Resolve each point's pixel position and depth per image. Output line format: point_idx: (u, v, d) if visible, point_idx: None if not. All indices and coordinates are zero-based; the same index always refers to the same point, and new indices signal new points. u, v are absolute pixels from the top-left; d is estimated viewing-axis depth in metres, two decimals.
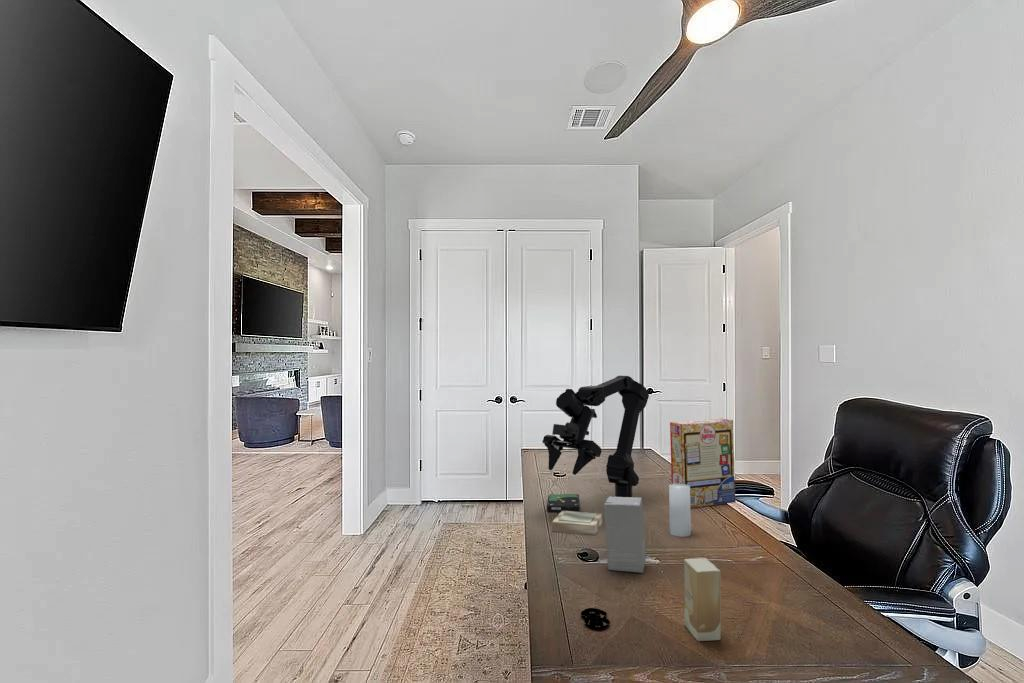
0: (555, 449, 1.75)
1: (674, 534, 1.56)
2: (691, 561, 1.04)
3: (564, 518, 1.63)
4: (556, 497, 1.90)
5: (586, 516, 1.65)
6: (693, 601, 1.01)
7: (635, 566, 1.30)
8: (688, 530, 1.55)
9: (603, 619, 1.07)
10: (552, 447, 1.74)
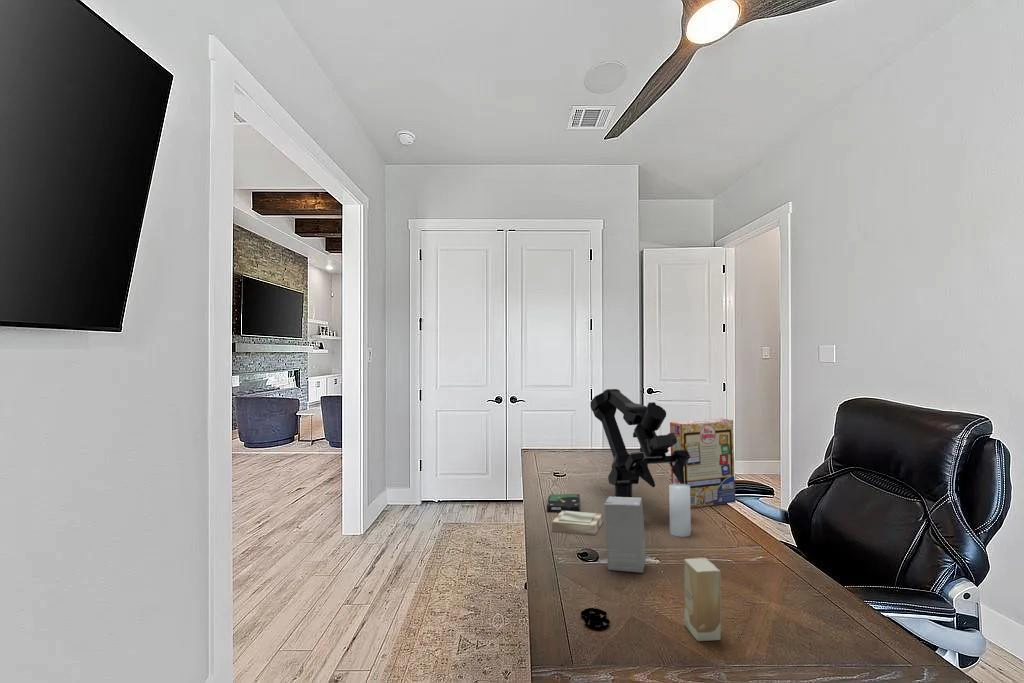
0: None
1: (674, 534, 1.56)
2: (691, 561, 1.04)
3: (564, 518, 1.63)
4: (556, 497, 1.90)
5: (586, 516, 1.65)
6: (693, 601, 1.01)
7: (635, 566, 1.30)
8: (688, 530, 1.55)
9: (603, 619, 1.07)
10: None
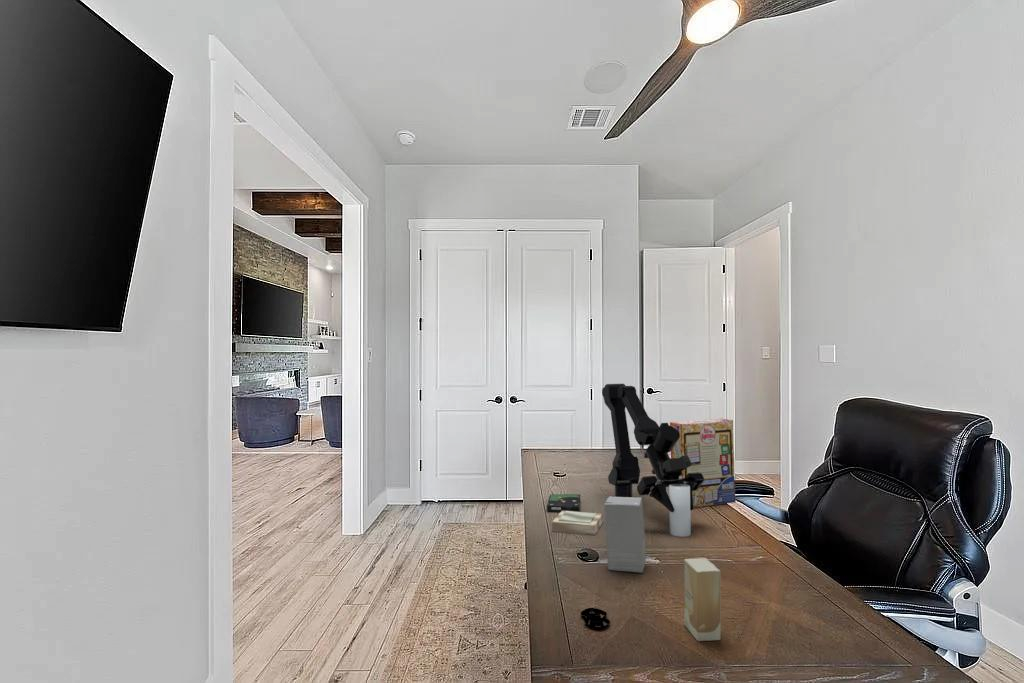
0: None
1: (674, 534, 1.56)
2: (691, 561, 1.04)
3: (564, 518, 1.63)
4: (557, 497, 1.90)
5: (586, 516, 1.65)
6: (693, 601, 1.01)
7: (635, 566, 1.30)
8: (688, 530, 1.55)
9: (603, 619, 1.07)
10: None
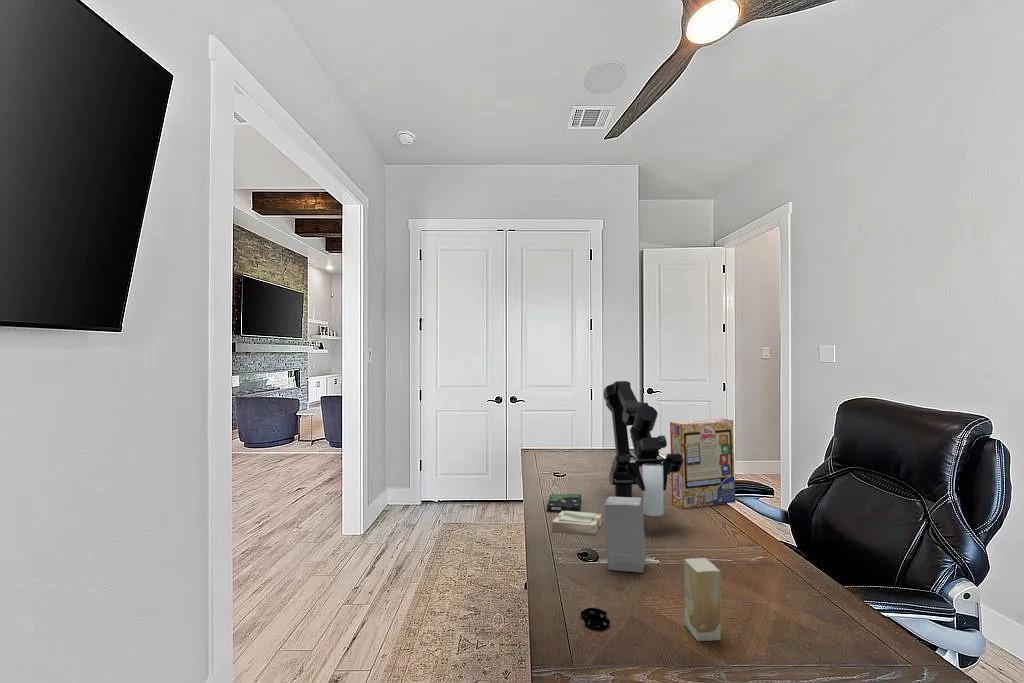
0: None
1: (645, 513, 1.56)
2: (691, 560, 1.04)
3: (564, 518, 1.63)
4: (558, 497, 1.90)
5: (586, 516, 1.65)
6: (693, 601, 1.01)
7: (635, 566, 1.30)
8: (659, 510, 1.55)
9: (603, 619, 1.07)
10: None
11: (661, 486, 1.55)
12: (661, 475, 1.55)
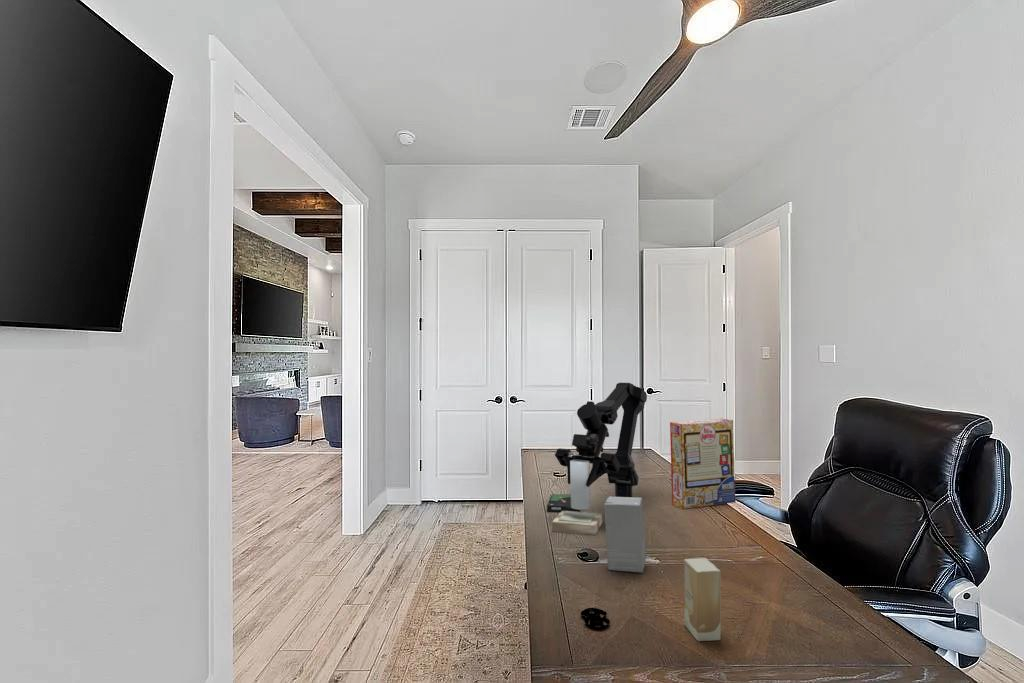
0: None
1: None
2: (691, 561, 1.04)
3: (564, 518, 1.63)
4: (558, 497, 1.90)
5: (586, 516, 1.65)
6: (693, 601, 1.01)
7: (635, 566, 1.30)
8: (579, 504, 1.61)
9: (603, 619, 1.07)
10: None
11: (581, 482, 1.61)
12: (582, 471, 1.61)
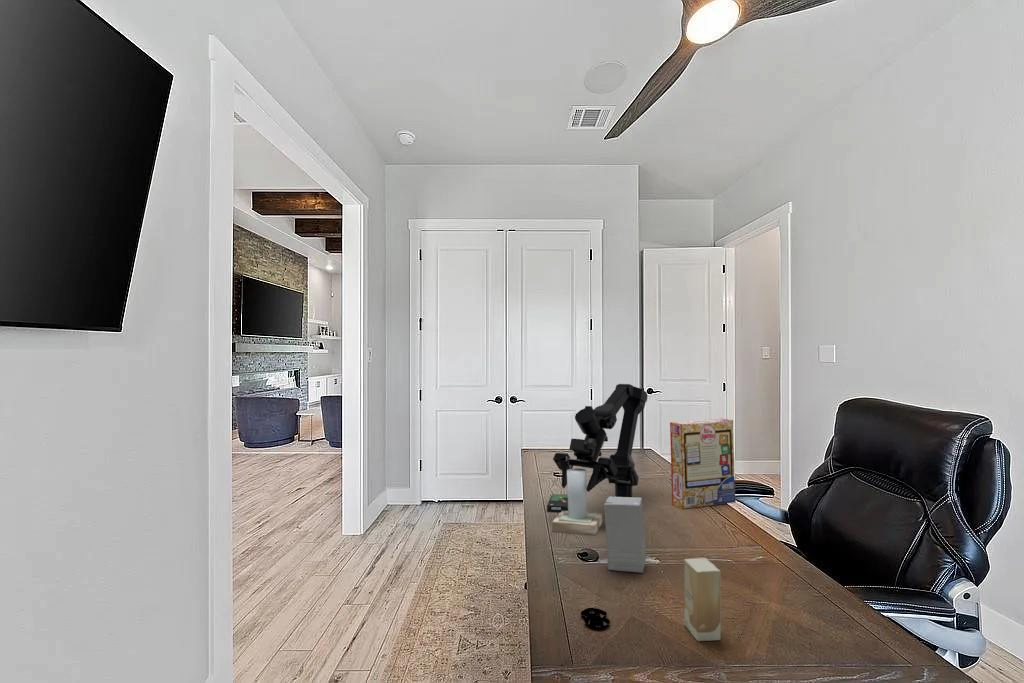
0: (568, 467, 1.70)
1: (568, 514, 1.65)
2: (691, 561, 1.04)
3: (564, 518, 1.63)
4: (558, 497, 1.90)
5: None
6: (693, 601, 1.01)
7: (635, 566, 1.30)
8: (576, 513, 1.62)
9: (603, 619, 1.07)
10: (566, 464, 1.69)
11: (578, 491, 1.62)
12: (578, 481, 1.62)
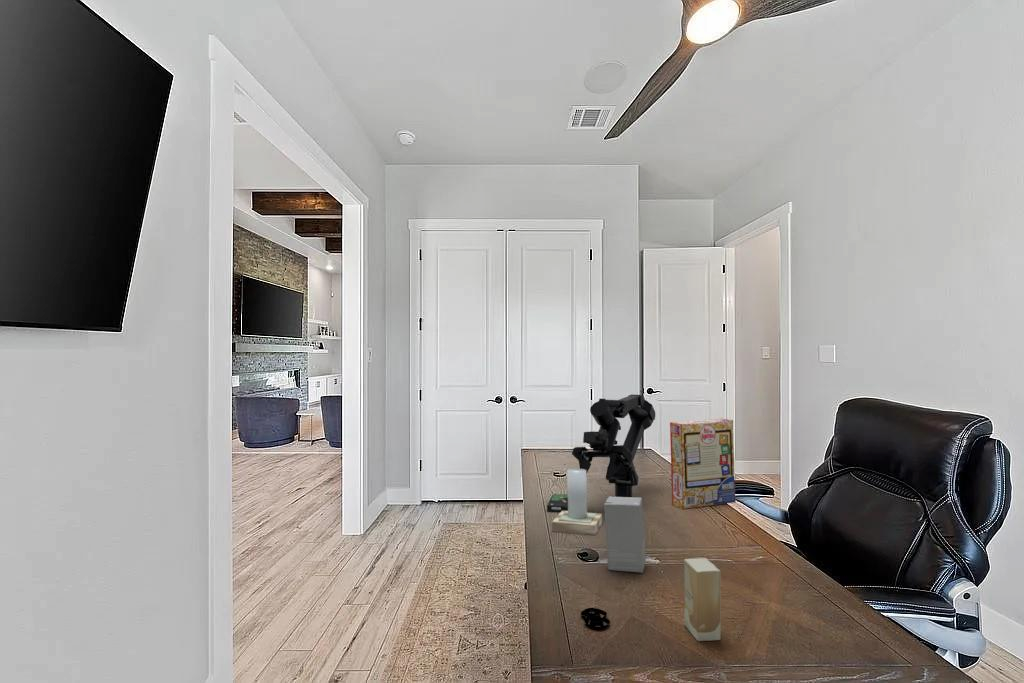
0: (585, 459, 1.78)
1: (568, 514, 1.65)
2: (691, 561, 1.04)
3: (564, 518, 1.63)
4: (559, 497, 1.90)
5: None
6: (693, 601, 1.01)
7: (635, 566, 1.30)
8: (576, 513, 1.62)
9: (603, 619, 1.07)
10: (582, 457, 1.78)
11: (578, 491, 1.62)
12: (578, 480, 1.62)
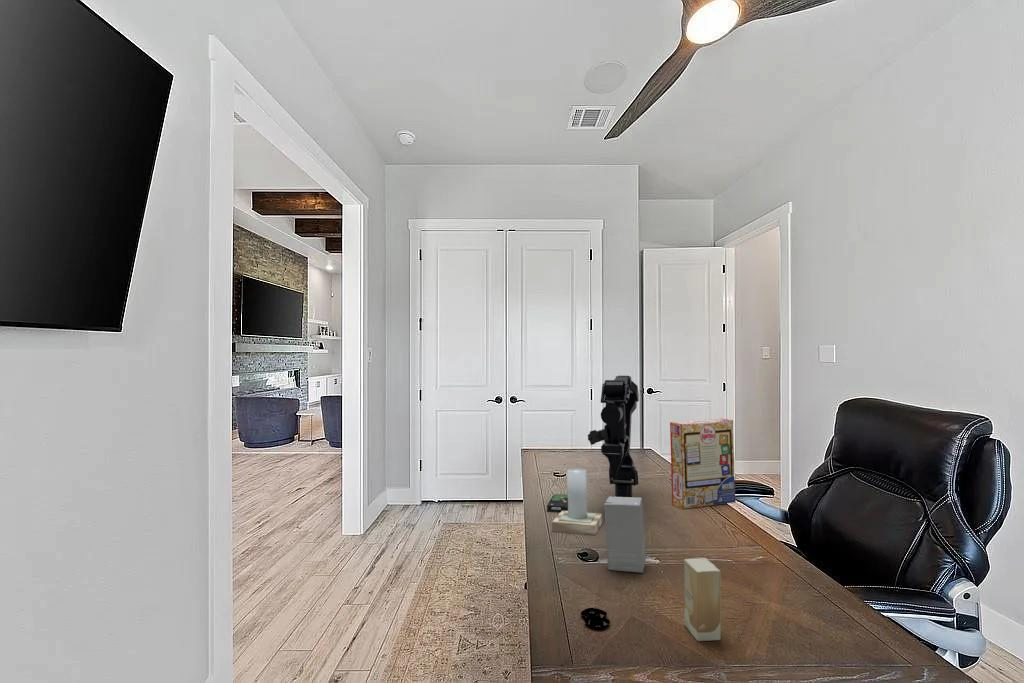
0: None
1: (568, 514, 1.65)
2: (691, 561, 1.04)
3: (564, 518, 1.63)
4: (560, 497, 1.90)
5: None
6: (693, 601, 1.01)
7: (635, 566, 1.30)
8: (576, 513, 1.62)
9: (603, 619, 1.07)
10: None
11: (578, 491, 1.62)
12: (578, 480, 1.62)
